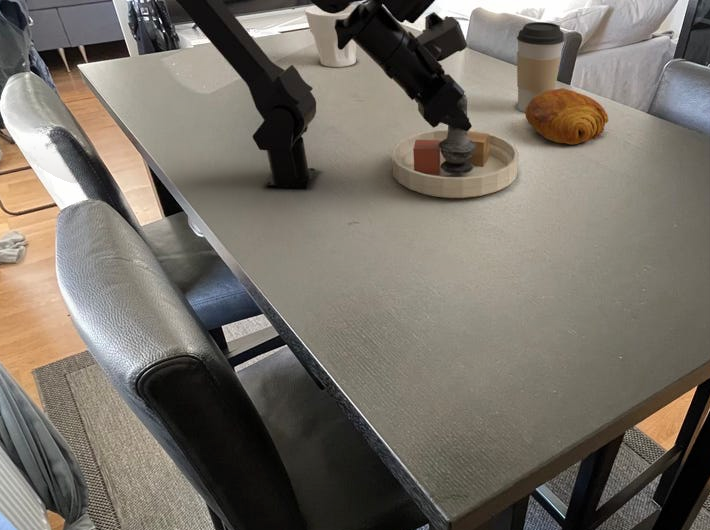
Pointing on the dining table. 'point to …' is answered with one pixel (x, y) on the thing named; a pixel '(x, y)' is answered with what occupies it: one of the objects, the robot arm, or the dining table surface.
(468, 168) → the grey turned piece
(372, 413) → the dining table surface
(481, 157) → the block
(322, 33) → the cup
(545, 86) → the coffee cup
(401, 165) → the round wooden tray
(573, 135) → the croissant
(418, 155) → the block
